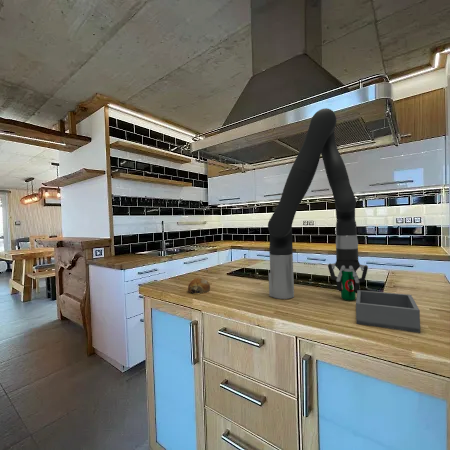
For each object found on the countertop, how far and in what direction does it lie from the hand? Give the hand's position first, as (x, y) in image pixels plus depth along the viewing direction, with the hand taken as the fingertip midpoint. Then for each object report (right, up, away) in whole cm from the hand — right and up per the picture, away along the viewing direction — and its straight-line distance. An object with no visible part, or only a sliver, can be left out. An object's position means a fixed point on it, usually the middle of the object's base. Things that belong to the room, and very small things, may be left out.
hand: (348, 291), depth 97 cm
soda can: (0, -3, 0) cm, 3 cm away
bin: (+2, -3, -19) cm, 20 cm away
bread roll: (-59, -5, +20) cm, 62 cm away
